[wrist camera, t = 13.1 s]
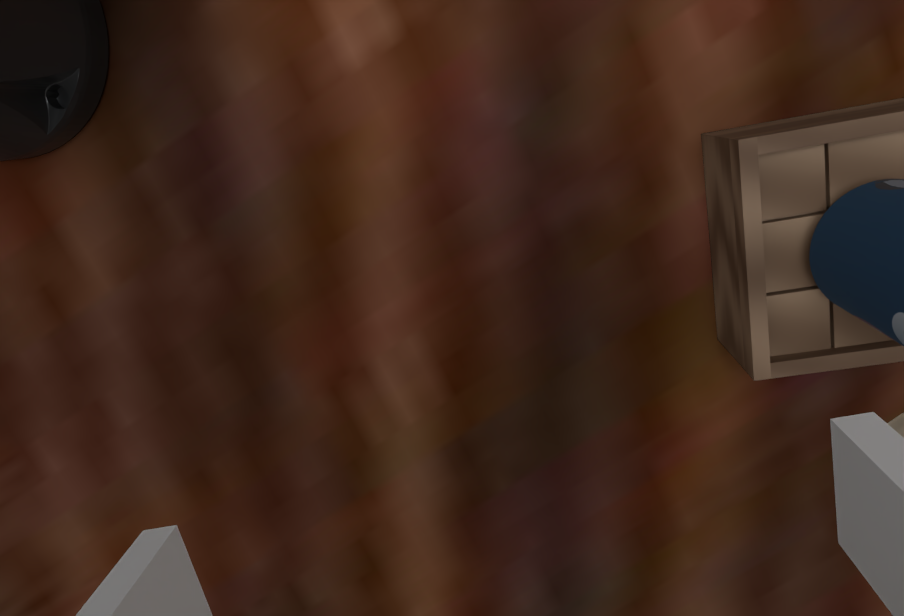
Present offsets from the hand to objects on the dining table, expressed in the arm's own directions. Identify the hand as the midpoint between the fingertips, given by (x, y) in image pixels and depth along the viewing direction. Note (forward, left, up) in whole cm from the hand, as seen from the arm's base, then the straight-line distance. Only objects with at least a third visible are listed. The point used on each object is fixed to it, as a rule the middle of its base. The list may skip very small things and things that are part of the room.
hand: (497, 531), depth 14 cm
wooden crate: (+2, +19, -31) cm, 36 cm away
